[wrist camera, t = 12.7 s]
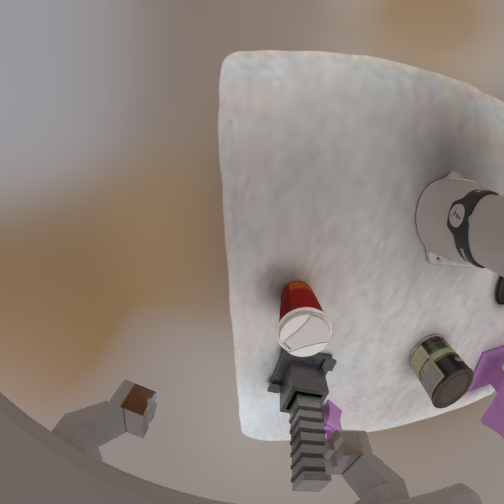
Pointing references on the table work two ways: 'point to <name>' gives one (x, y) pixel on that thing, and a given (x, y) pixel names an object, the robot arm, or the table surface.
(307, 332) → the paper cup
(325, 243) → the table surface
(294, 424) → the column
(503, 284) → the apothecary jar
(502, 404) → the purple pedestal armchair
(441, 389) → the coffee can
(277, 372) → the stand
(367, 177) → the table surface
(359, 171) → the table surface
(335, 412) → the toy chair
